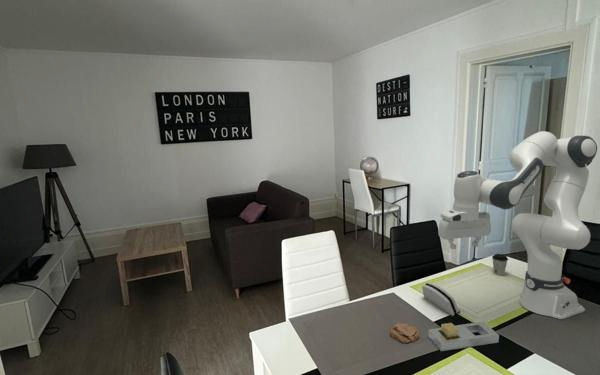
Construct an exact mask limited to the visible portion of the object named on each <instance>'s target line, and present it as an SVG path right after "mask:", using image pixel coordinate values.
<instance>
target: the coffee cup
mask: <svg viewBox="0 0 600 375" xmlns="http://www.w3.org/2000/svg"><path fill="white" fill-rule="evenodd" d="M491 258H492V265H493V266H492V267H493V275H495V276H501V277H503V276H505V273H506V268H507V264H508V260H509V258H508V256H507V255H506V254H503V253H495V254H494V255H493V254H492V257H491Z"/></svg>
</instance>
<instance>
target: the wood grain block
mask: <svg viewBox="0 0 600 375" xmlns="http://www.w3.org/2000/svg"><path fill="white" fill-rule="evenodd" d="M440 325H441V327H440V328H441V334H442V336H443V337H444V338H445V339H446V340H450V339H457V338H458V329H457V328H456V327H455V326H456V325H455V324H453V323H452V322H448V323H441V324H440Z"/></svg>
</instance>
